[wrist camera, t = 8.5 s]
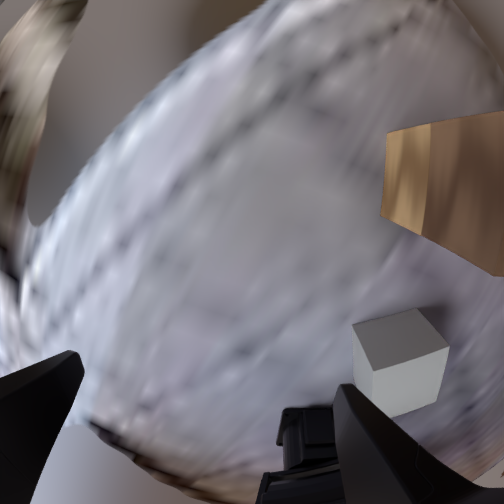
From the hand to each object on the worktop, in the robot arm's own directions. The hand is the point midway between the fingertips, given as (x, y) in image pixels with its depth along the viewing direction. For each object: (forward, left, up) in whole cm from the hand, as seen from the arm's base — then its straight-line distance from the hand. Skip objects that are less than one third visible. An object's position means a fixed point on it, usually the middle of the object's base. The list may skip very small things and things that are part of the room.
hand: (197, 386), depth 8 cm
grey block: (-7, -13, -13) cm, 19 cm away
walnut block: (+7, -13, -7) cm, 16 cm away
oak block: (+7, -13, -13) cm, 19 cm away
